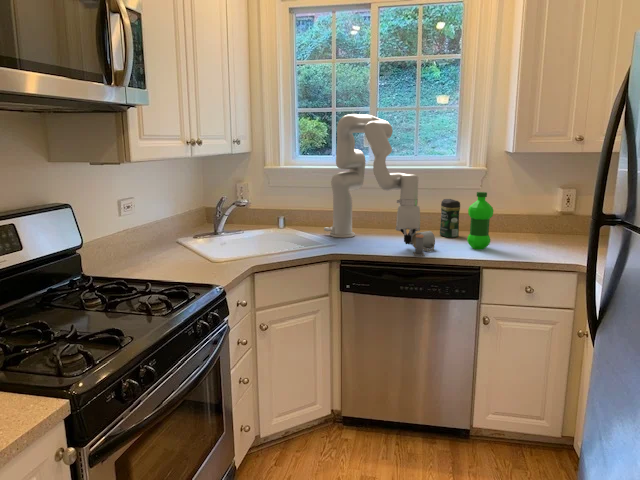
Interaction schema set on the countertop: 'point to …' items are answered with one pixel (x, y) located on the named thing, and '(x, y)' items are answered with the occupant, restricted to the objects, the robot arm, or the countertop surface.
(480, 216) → the plastic bottle
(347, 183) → the robot arm
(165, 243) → the countertop surface
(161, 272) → the countertop surface
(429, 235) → the ceramic mug
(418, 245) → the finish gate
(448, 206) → the coffee jar
